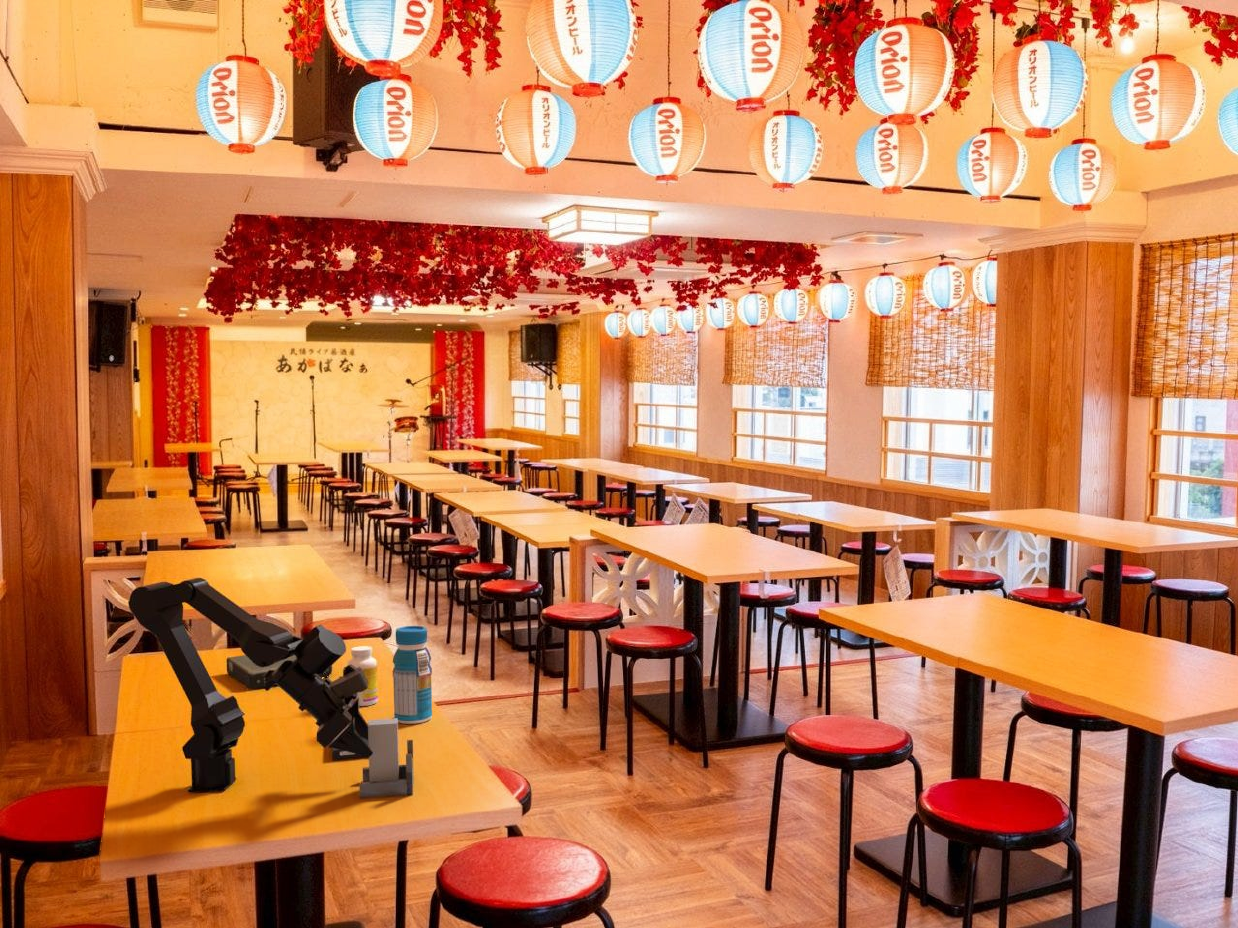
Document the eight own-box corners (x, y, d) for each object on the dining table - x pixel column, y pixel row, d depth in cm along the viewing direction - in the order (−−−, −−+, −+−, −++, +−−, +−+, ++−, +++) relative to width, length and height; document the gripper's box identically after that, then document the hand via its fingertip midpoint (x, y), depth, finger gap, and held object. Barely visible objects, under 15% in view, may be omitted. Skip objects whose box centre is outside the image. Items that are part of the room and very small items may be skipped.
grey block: (369, 794, 186) (367, 726, 185) (371, 784, 191) (369, 718, 190) (398, 791, 187) (396, 724, 186) (399, 782, 192) (397, 716, 191)
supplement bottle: (382, 699, 248) (380, 645, 247) (372, 707, 241) (371, 651, 240) (354, 699, 248) (352, 644, 248) (344, 706, 242) (342, 651, 241)
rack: (359, 798, 184) (358, 758, 183) (363, 780, 192) (362, 742, 192) (413, 794, 185) (412, 755, 185) (414, 777, 194) (413, 739, 194)
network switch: (301, 662, 288) (301, 644, 288) (343, 677, 271) (343, 657, 271) (216, 677, 273) (216, 658, 272) (255, 694, 255) (254, 674, 255)
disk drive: (387, 758, 207) (382, 735, 221) (387, 744, 207) (382, 722, 221) (332, 764, 204) (331, 740, 218) (332, 750, 204) (331, 727, 218)
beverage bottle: (393, 726, 226) (391, 633, 225) (393, 715, 234) (391, 625, 233) (433, 723, 228) (431, 631, 227) (432, 712, 236) (430, 623, 235)
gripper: (335, 667, 177) (403, 729, 180) (344, 643, 196) (405, 699, 198) (287, 716, 176) (356, 777, 179) (300, 687, 195) (363, 743, 197)
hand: (372, 746), depth 188 cm, fingers open, 9 cm apart
